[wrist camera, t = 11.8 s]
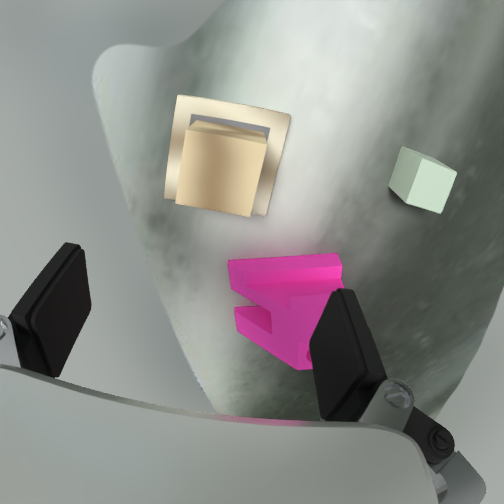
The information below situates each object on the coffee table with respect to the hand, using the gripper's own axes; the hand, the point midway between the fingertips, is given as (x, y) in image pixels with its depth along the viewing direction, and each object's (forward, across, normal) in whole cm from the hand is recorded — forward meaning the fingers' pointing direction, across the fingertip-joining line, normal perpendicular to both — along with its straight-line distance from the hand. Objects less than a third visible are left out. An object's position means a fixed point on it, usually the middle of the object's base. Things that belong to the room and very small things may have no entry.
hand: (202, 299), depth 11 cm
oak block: (+19, 0, 0) cm, 19 cm away
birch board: (+20, +1, 0) cm, 20 cm away
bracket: (+21, -9, +15) cm, 27 cm away
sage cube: (+20, -18, -3) cm, 28 cm away
